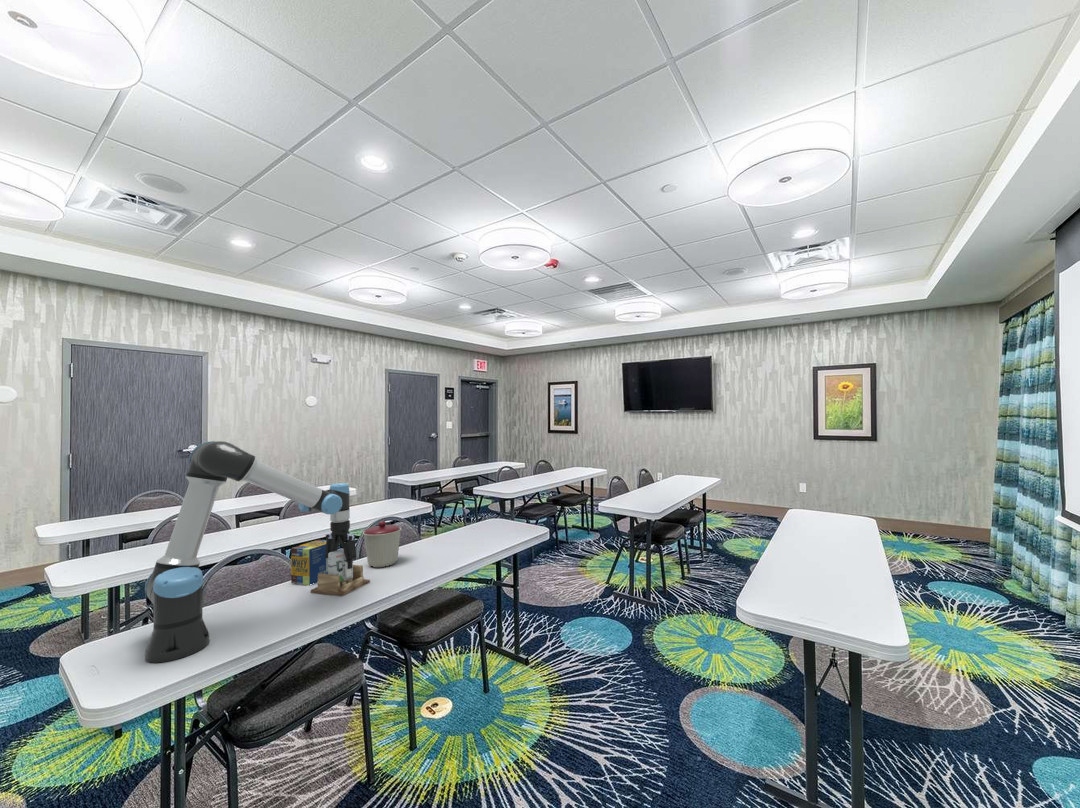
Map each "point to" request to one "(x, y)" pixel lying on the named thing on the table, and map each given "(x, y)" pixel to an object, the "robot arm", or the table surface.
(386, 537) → the canister
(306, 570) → the protein box
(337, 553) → the ink box
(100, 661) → the table surface
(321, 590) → the peg frame
